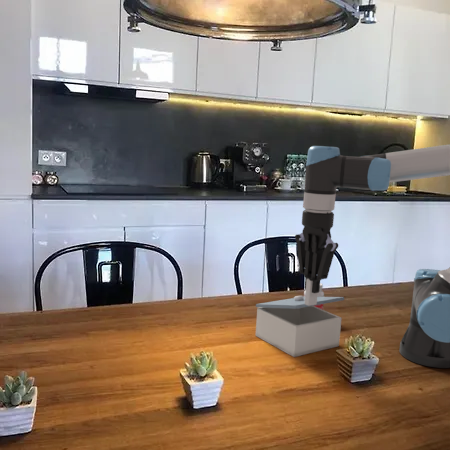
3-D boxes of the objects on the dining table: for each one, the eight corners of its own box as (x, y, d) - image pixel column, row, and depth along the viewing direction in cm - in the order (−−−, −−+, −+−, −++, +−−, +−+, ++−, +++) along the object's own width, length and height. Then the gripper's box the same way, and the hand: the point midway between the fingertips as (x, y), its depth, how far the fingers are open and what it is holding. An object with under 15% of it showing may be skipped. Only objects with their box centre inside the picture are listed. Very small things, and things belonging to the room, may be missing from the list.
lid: (344, 300, 141) (343, 292, 141) (296, 308, 132) (295, 300, 132) (302, 299, 155) (301, 292, 155) (256, 307, 145) (255, 299, 145)
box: (338, 346, 143) (341, 317, 142) (293, 357, 134) (296, 326, 133) (298, 326, 156) (301, 300, 155) (255, 335, 147) (257, 307, 146)
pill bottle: (324, 321, 162) (327, 286, 160) (305, 321, 161) (308, 286, 159) (318, 314, 168) (321, 281, 166) (299, 314, 167) (302, 280, 165)
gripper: (349, 214, 125) (340, 309, 129) (311, 206, 136) (304, 295, 140) (326, 215, 121) (317, 314, 125) (289, 207, 132) (282, 298, 136)
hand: (310, 304), depth 132 cm, fingers closed
